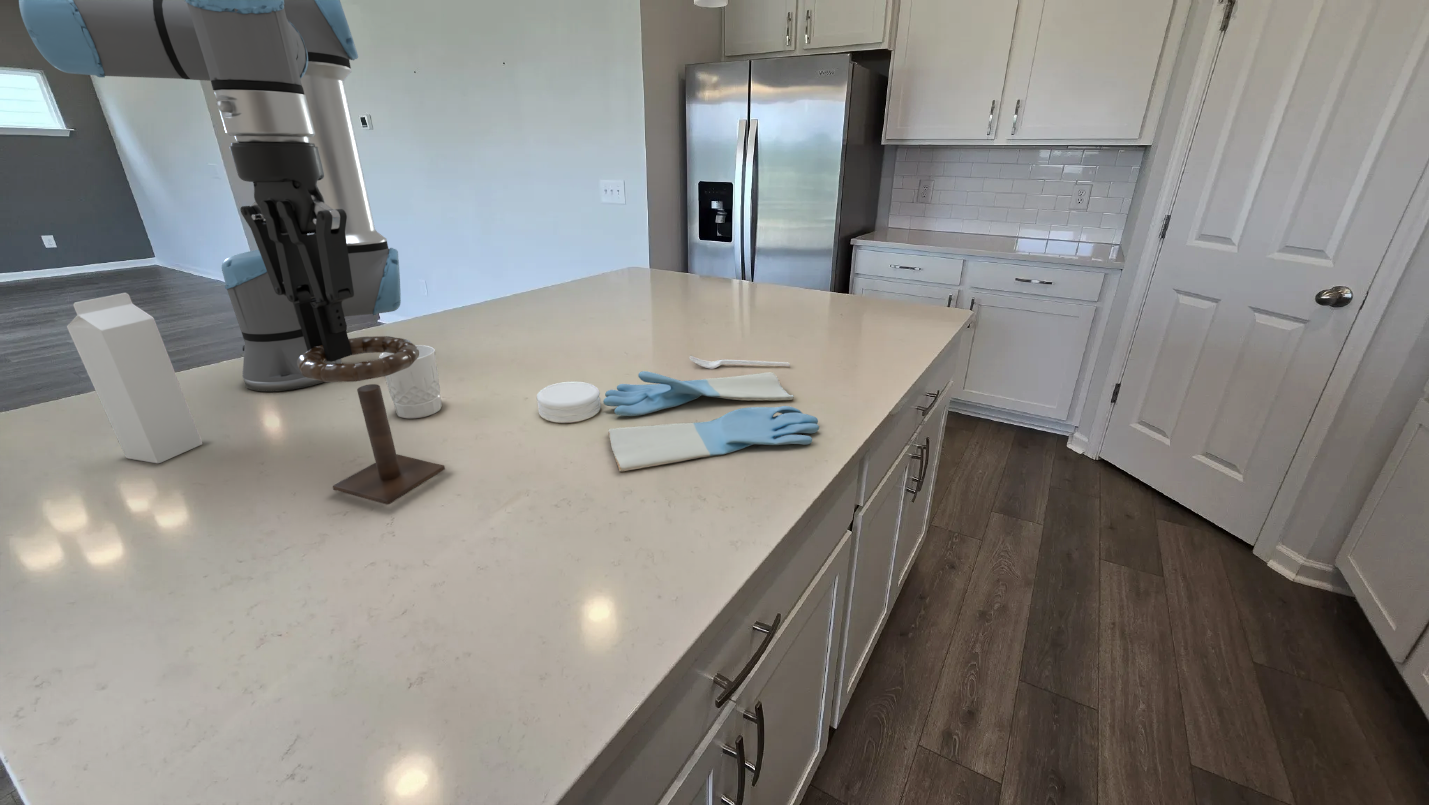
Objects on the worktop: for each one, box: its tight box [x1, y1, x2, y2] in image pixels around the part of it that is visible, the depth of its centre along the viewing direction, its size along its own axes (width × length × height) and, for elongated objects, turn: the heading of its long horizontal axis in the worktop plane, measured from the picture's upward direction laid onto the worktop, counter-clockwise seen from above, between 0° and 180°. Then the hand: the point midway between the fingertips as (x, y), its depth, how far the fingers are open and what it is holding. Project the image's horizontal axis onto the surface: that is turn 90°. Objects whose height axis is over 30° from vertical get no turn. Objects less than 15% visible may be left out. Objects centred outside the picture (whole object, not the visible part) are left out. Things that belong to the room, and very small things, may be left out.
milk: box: [66, 292, 203, 464], centre depth 78 cm, size 6×6×22 cm
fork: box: [688, 354, 791, 370], centre depth 116 cm, size 3×20×2 cm, turn 89°
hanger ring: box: [297, 335, 419, 383], centre depth 68 cm, size 12×12×2 cm
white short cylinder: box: [536, 380, 602, 424], centre depth 95 cm, size 10×10×4 cm
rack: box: [332, 383, 446, 505], centre depth 72 cm, size 9×9×14 cm
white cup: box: [378, 344, 443, 419], centre depth 94 cm, size 8×8×10 cm
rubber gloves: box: [602, 370, 820, 472], centre depth 93 cm, size 27×33×6 cm
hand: (331, 355), depth 70 cm, fingers closed on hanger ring, 2 cm apart
